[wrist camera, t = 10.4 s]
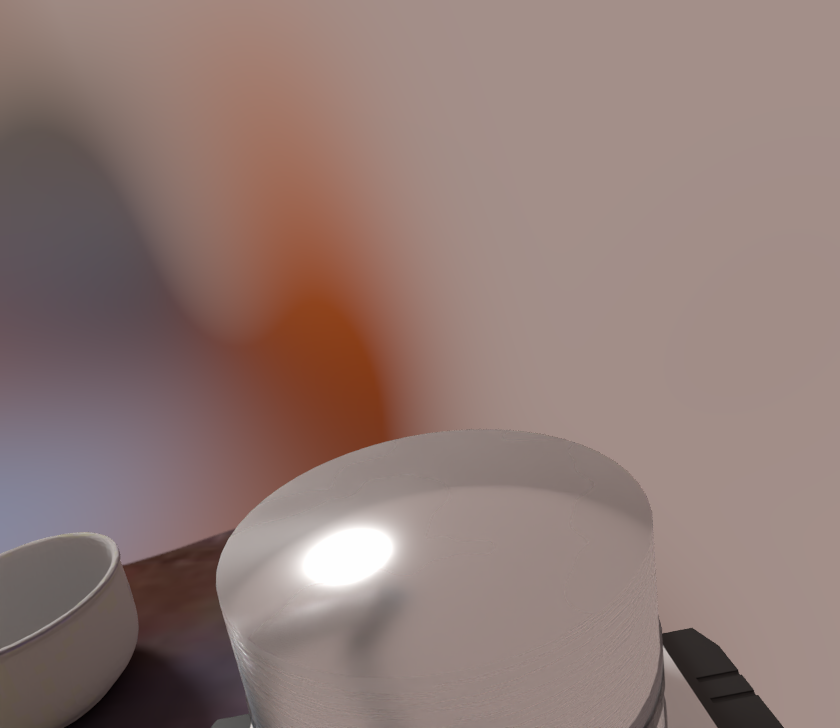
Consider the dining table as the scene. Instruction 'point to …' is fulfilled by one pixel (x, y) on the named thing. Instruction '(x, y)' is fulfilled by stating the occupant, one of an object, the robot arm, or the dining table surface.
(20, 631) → the teacup
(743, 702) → the robot arm
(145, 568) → the dining table surface
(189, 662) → the dining table surface
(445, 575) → the piston
